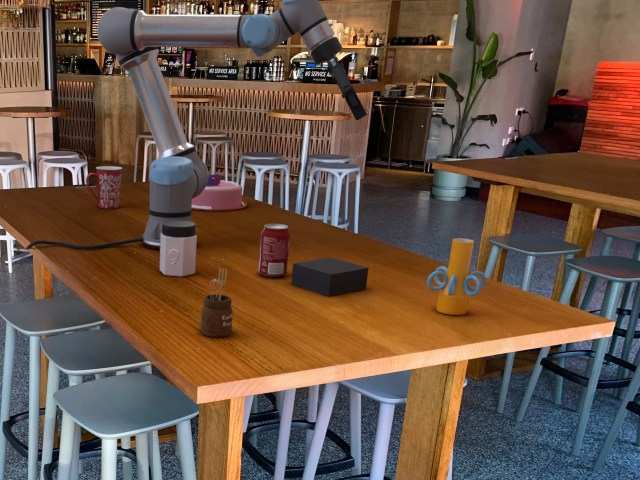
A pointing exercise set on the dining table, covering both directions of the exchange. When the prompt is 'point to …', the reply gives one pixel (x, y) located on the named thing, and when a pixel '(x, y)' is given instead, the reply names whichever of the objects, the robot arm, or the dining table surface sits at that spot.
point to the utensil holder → (217, 312)
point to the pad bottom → (328, 286)
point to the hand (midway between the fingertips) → (361, 117)
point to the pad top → (330, 271)
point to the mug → (107, 186)
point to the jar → (178, 248)
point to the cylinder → (456, 279)
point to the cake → (219, 196)
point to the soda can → (274, 251)
